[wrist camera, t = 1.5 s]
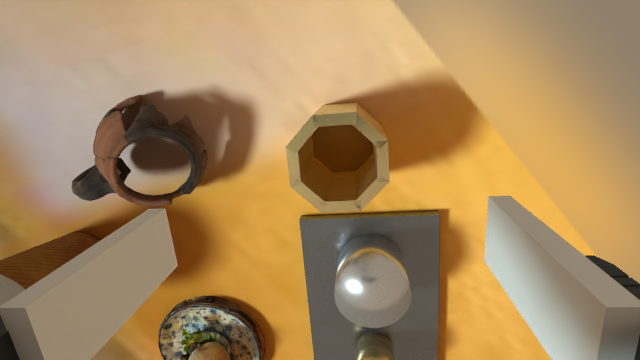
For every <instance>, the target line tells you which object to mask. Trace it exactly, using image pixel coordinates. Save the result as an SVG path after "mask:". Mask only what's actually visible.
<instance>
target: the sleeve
mask: <svg viewBox="0 0 640 360" xmlns="http://www.w3.org/2000/svg"><path fill="white" fill-rule="evenodd" d="M350 124H352V125H353V126H354V127H355V128H356V129H357V130H359V131H360V132H361V133H362V134H363V135H364V136H365V137H366V138H368V139H369V140H370V141H371V142H372V149H373V153H372V154H371V155H370V156H369V158H368V159H367V160H366V161H365V162H364V163H363V164H362V165H361V166H360V167H359V168H358V169H357V170H356V171H342V172H332V171H330V170H329V169H328V168H327V167H326V166H325V165H323V164H322V163H321V162H320V161H319V160H318V159H316V158H315V157H314V151H313V139H312V134H313V133H314V131H315V130H316V129H317V128H318V127H321V126H336V125H350ZM286 152H287V161H288V170H289V179H290V187H291V188H293V189H294V190H295V191H296V192H297V193H299V194H300V195H301V196H302V197H303V198H305V199H306V200H307V201H308V202H309V203H311V204H312V205H313V206H314V207H315V208H317V209H318V210H319V211H320V212H338V211H361V210H362V209H363V208H364V207H365V206H366V205H367V204H368V203H369V202H370V201H371V200H372V199H373V198H374V197H375V196H376V195H377V194H378V193H379V192H380V191H381V190H382V189H383V188H384V187H385V186H386V185H387V184H388V183H389V149H388V139H387V137H386V135H385V133H384V130H383V128H382V126H381V124H380V123H379V122H377V121H376V120H375V119H374V118H373V117H372V116H371V115H370V114H369V113H367V112H366V111H365V110H364V109H363V108H362V107H361V106H360V105H358V104H357V103H343V104H330V105H323V106H322V107H321V108H320V109H319V110H318V111H316V112H315V113H314V114H313V115H312V116H311V118H310V119H309V120H308V121H307V122H306V124H305V125H304V126H303V127H302V128H301V130H300V131H299V132H298V133H297V134H296V136H295V137H294V138H293V139H292V140H291V142H290V143H289V144H288V145H287V146H286Z"/></svg>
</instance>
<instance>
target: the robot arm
mask: <svg viewBox="0 0 640 360" xmlns="http://www.w3.org/2000/svg"><path fill="white" fill-rule="evenodd" d="M484 261H485V262H486V264H487V265H488V267H489V268H490V270H491V271H492V273H493V274H494V276H495V277H496V279H497V280H498V281H499V283H500V284H501V286H502V287H503V289H504V290H505V292H506V293H507V295H508V296H509V298H510V299H511V301H512V302H513V304H514V305H515V306H516V308H517V309H518V311H519V312H520V314H521V315H522V317H523V318H524V320H525V321H526V323H527V324H528V326H529V327H530V329H531V330H532V331H533V333H534V334H535V336H536V337H537V339H538V340H539V342H540V343H541V345H542V346H543V348H544V349H545V351H546V352H547V354H548V355H549V356H550V358H551V359H552V360H640V284H639V283H638V282H636V281H635V280H634V279H632V278H629V277H628V275H627V274H626V273H624V272H623V271H622V270H620V269H619V268H617V267H616V266H615V265H613V264H611V263H609V262H607V261H605V260H602V259H600V258H598V257H596V256H584V255H583V254H582V253H580V252H579V251H578V250H577V249H575V248H574V247H573V246H572V245H570V244H569V243H568V242H567V241H565V240H564V239H563V238H562V237H560V236H559V235H558V234H557V233H555V232H554V231H553V230H552V229H551V228H549V227H548V226H547V225H546V224H544V223H543V222H542V221H541V220H539V219H538V218H537V217H536V216H534V215H533V214H532V213H531V212H529V211H528V210H527V209H526V208H524V207H523V206H522V205H521V204H519V203H518V202H517V201H516V200H514V199H513V198H512V197H511V196H490V197H489V198H488V213H487V229H486V244H485V259H484ZM177 266H178V264H177V259H176V255H175V250H174V245H173V241H172V236H171V232H170V227H169V222H168V218H167V213H166V208H162V209H148V210H146V211H145V212H143V213H142V214H140V215H139V216H137V217H136V218H134V219H133V220H131V221H130V222H128V223H127V224H125V225H123V226H122V227H120V228H119V229H117V230H116V231H114V232H113V233H111V234H110V235H108V236H107V237H105V238H104V239H102V240H101V241H99V242H98V243H96V244H94V245H93V246H91V247H90V248H88V249H87V250H85V251H84V252H82V253H81V254H79V255H78V256H76V257H75V258H73V259H72V260H70V261H69V262H67V263H65V264H64V265H62V266H61V267H59V268H58V269H56V270H55V271H53V272H52V273H50V274H49V275H47V276H46V277H44V278H43V279H41V280H40V281H38V282H36V283H35V284H33V285H32V286H30V287H29V288H27V289H26V290H24V291H23V292H21V293H20V294H18V295H17V296H15V297H14V298H12V299H11V300H9V301H7V302H6V303H4V304H3V305H1V306H0V360H91V359H92V358H93V357H94V356H95V355H96V354H97V353H98V351H99V350H100V349H101V348H102V347H103V346H104V345H105V344H106V343H107V342H108V341H109V340H110V338H111V337H112V336H113V335H114V334H115V333H116V332H117V331H118V330H119V329H120V328H121V327H122V326H123V324H124V323H125V322H126V321H127V320H128V319H129V318H130V317H131V316H132V315H133V314H134V313H135V311H136V310H137V309H138V308H139V307H140V306H141V305H142V304H143V303H144V302H145V301H146V300H147V299H148V297H149V296H150V295H151V294H152V293H153V292H154V291H155V290H156V289H157V288H158V287H159V286H160V284H161V283H162V282H163V281H164V280H165V279H166V278H167V277H168V276H169V275H170V274H171V273H172V272H173V270H174V269H175V268H176V267H177Z"/></svg>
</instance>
